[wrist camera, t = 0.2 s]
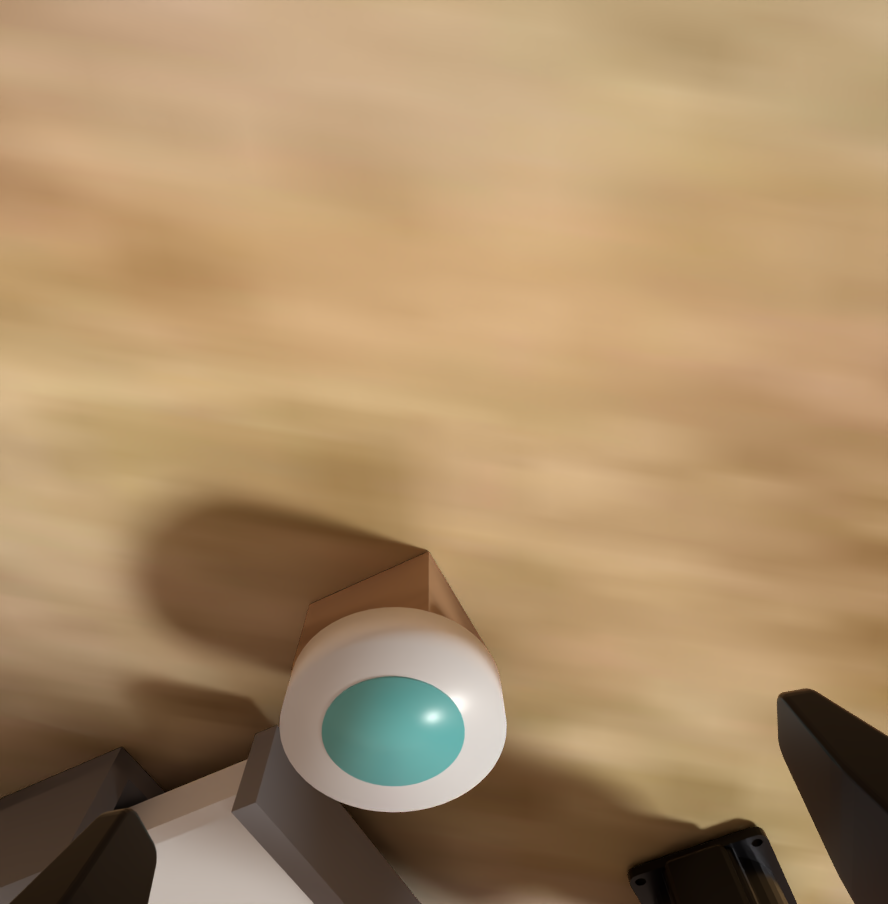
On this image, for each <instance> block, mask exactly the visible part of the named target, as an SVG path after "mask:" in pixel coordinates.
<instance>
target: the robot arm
mask: <svg viewBox="0 0 888 904" xmlns="http://www.w3.org/2000/svg"><path fill="white" fill-rule="evenodd" d="M777 719H778V741H779V746H780V749H781V752H782V755H783V757H784V760H785V762H786V764H787V766H788V768H789V771H790V773H791V775H792V777H793V779H794V781H795V783H796V786H797V788H798V790H799V792H800V794H801V796H802V798H803V801H804V803H805V805H806V807H807V809H808V811H809V813H810V816H811V818H812V820H813V822H814V824H815V826H816V828H817V831H818V833H819V835H820V837H821V839H822V841H823V843H824V846H825V848H826V850H827V852H828V854H829V856H830V858H831V860H832V862H833V864H834V867H835V869H836V871H837V873H838V875H839V877H840V879H841V880H842V882H843V884H844V886H845V888H846V889H847V891H848V893H849V895H850V897H851V898H852V900H853V902H854V903H855V904H888V736H887V735H885V734H884V733H882V732H880V731H879V730H877V729H876V728H874V727H872V726H871V725H869V724H868V723H866V722H864V721H863V720H861V719H860V718H858V717H856V716H855V715H853V714H852V713H850V712H848V711H847V710H845V709H844V708H842V707H840V706H839V705H837V704H836V703H834V702H832V701H831V700H829V699H828V698H826V697H824V696H823V695H821V694H820V693H818V692H816V691H814V690H811V689H800V690H794V691H788V692H783V693H781V694H780V695H779V696H778V698H777ZM156 863H157V852H156V847H155V844H154V842H153V840H152V838H151V837H150V835H149V833H148V831H147V830H146V828H145V826H144V824H143V822H142V821H141V819H140V817H139V815H138V814H137V812H136V811H135V810H133V809H131V808H124V809H118V810H113V811H107V812H105V813H102V814H101V815H99V816H98V817H97V818H96V819H95V820H94V821H93V822H92V823H91V824H90V825H89V826H88V827H87V828H86V829H85V830H84V831H83V832H82V833H81V834H80V835H79V836H77V837H76V838H75V839H74V840H73V841H72V842H71V843H70V844H69V845H68V846H67V847H66V848H65V849H64V850H63V851H62V852H61V853H60V854H59V855H58V856H57V857H56V858H55V859H54V860H53V861H52V862H51V863H50V864H49V865H48V866H47V867H46V868H45V869H44V870H43V871H42V872H41V873H40V874H39V875H38V876H37V877H36V878H35V879H34V880H33V881H32V882H31V883H30V884H29V885H28V886H27V887H25V888H24V889H23V890H22V891H21V892H20V893H19V894H18V895H17V896H16V897H15V898H14V899H13V900H12V901H11V902H10V903H9V904H148V902H149V897H150V892H151V888H152V883H153V878H154V873H155V869H156ZM627 875H628V879H629V882H630V886H631V887H632V889H633V891H634V892H635V894H636V896H637V897H638V899H639V901H640V902H641V904H797V903H796V900H795V898H794V896H793V894H792V891H791V889H790V887H789V885H788V883H787V880H786V878H785V876H784V874H783V871H782V869H781V867H780V865H779V862H778V860H777V858H776V856H775V854H774V851H773V849H772V847H771V845H770V842H769V840H768V838H767V836H766V834H765V832H764V830H763V829H762V828H759V827H751V828H748V829H745V830H742V831H739V832H736V833H733V834H730V835H727V836H724V837H721V838H718V839H715V840H712V841H709V842H706V843H703V844H701V845H698V846H695V847H692V848H689V849H686V850H683V851H680V852H677V853H674V854H671V855H668V856H665V857H662V858H659V859H656V860H654V861H651V862H648V863H645V864H642V865H639V866H636V867H633V868H631V869H630V870H629V871H628V874H627Z"/></svg>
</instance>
